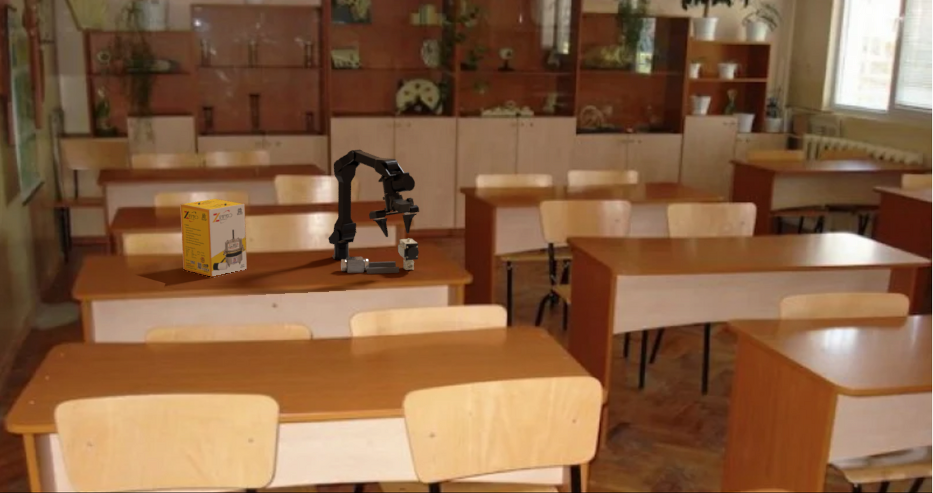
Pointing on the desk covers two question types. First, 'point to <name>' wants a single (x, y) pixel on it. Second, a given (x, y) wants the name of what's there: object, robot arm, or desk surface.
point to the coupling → (354, 264)
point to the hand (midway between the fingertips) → (397, 235)
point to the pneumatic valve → (408, 252)
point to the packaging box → (213, 236)
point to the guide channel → (382, 267)
